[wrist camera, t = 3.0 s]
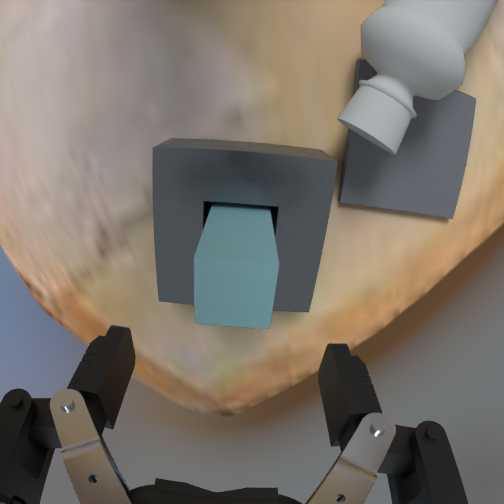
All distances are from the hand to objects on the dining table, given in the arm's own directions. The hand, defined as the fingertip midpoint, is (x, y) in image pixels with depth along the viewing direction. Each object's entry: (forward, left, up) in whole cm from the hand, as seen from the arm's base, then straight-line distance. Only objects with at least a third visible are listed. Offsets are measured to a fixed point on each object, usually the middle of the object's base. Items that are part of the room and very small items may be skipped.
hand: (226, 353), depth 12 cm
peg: (0, 0, -16) cm, 16 cm away
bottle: (-22, +13, -16) cm, 30 cm away
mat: (-8, +14, -16) cm, 23 cm away
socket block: (0, 0, -16) cm, 16 cm away
